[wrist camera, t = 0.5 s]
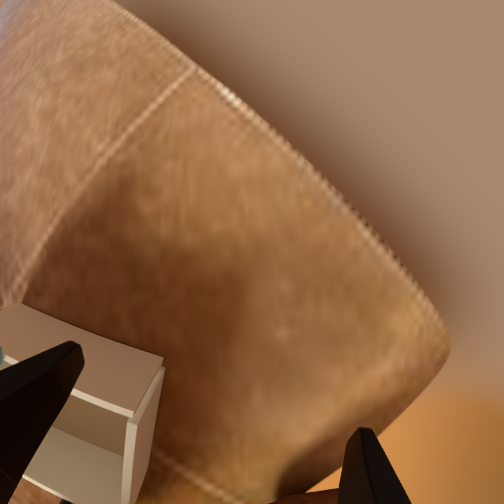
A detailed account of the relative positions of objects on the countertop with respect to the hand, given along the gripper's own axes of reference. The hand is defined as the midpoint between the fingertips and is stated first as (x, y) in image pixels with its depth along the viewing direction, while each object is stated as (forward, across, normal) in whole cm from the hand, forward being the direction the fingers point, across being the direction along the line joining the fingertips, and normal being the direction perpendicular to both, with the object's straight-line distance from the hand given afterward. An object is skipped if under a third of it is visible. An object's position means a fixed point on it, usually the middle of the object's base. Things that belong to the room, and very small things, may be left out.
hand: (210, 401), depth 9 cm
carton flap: (+9, +12, +10) cm, 18 cm away
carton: (+7, +12, +15) cm, 21 cm away
